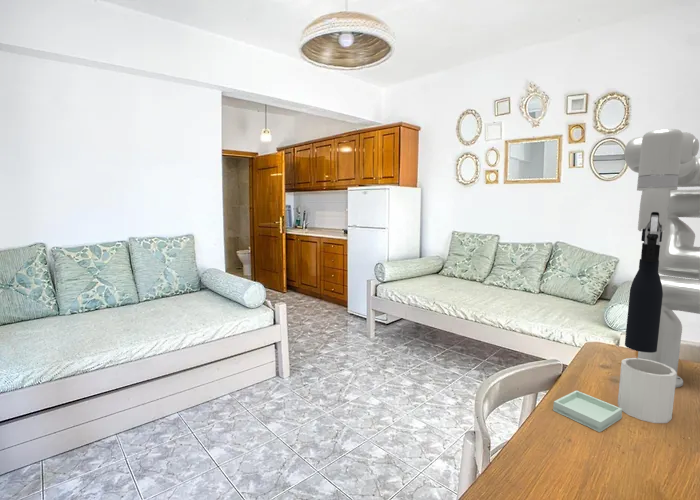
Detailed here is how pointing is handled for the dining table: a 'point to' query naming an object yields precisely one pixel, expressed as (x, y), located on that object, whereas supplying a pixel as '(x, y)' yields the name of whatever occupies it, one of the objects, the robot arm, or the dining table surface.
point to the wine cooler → (647, 390)
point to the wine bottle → (644, 307)
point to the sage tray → (588, 410)
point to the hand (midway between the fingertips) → (649, 259)
